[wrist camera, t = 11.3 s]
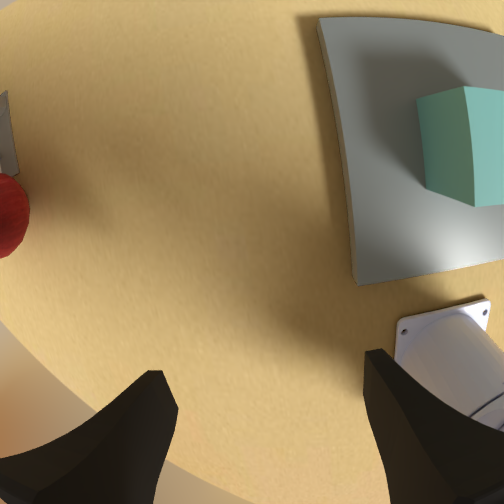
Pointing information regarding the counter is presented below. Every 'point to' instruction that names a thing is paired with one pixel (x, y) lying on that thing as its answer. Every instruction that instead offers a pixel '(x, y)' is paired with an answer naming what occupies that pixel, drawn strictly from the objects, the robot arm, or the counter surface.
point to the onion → (12, 214)
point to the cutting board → (405, 142)
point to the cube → (464, 144)
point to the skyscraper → (7, 140)
